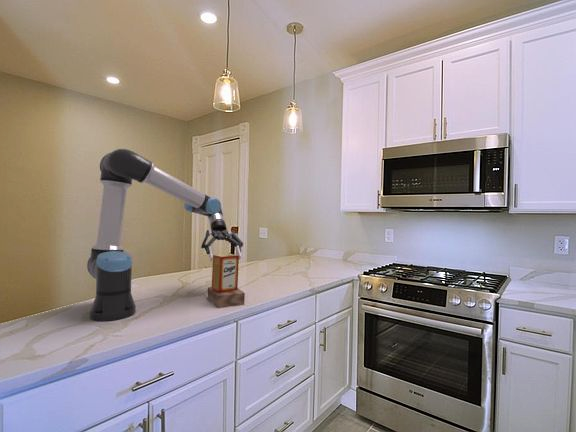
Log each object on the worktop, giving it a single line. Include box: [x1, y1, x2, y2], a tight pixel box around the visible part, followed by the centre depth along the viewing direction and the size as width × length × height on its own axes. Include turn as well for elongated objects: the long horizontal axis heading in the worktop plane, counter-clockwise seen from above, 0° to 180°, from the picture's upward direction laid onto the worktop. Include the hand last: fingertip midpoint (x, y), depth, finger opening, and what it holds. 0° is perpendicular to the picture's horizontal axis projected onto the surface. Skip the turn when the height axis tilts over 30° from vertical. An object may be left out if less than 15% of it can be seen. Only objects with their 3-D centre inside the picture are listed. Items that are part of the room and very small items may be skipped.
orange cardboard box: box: [211, 253, 240, 293], centre depth 137 cm, size 10×6×16 cm
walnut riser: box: [206, 286, 246, 309], centre depth 137 cm, size 12×16×5 cm
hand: (226, 258), depth 140 cm, fingers open, 13 cm apart
